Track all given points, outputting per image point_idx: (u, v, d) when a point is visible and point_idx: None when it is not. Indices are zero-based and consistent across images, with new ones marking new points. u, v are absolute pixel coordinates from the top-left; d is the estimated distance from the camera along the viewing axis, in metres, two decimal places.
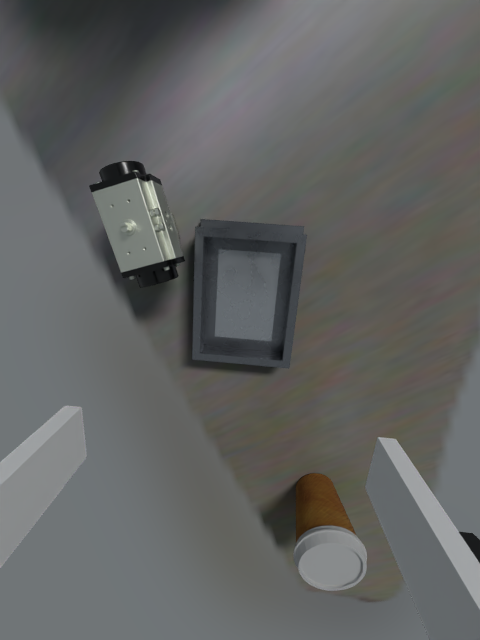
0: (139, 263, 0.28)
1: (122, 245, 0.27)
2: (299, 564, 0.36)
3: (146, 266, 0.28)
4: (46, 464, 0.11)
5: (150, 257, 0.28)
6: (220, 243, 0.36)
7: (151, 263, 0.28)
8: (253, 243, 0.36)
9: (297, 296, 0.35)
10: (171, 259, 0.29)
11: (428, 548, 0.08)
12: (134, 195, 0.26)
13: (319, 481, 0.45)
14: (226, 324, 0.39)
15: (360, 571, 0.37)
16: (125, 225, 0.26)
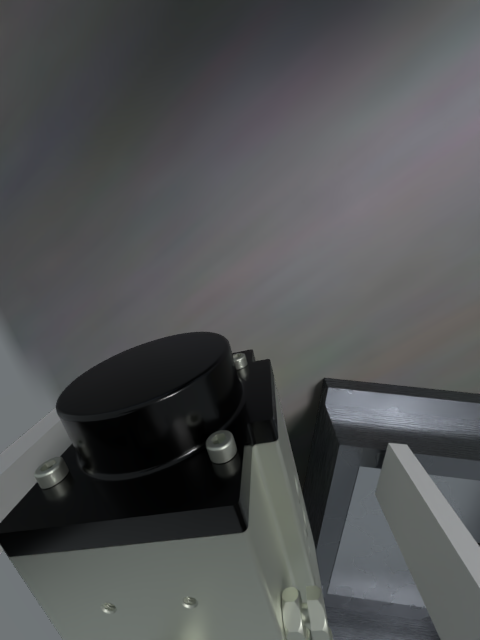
0: None
1: None
2: None
3: None
4: (32, 469, 0.10)
5: None
6: None
7: None
8: None
9: None
10: None
11: (446, 560, 0.08)
12: (222, 589, 0.05)
13: None
14: (355, 577, 0.18)
15: None
16: None
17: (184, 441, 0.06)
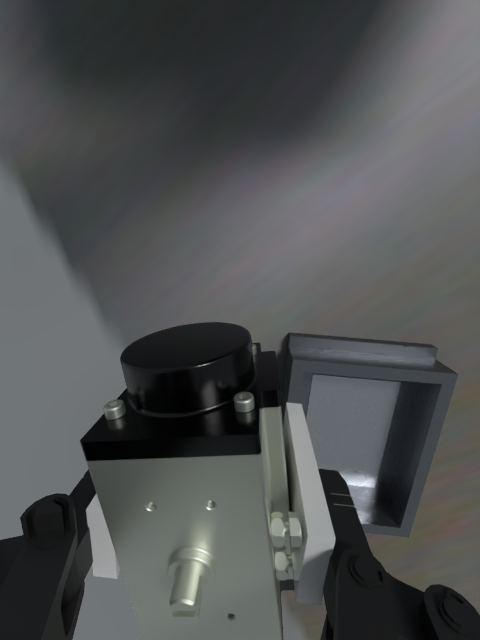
0: None
1: (163, 598, 0.09)
2: None
3: None
4: None
5: (243, 637, 0.09)
6: None
7: None
8: None
9: (432, 451, 0.24)
10: (282, 581, 0.11)
11: (294, 479, 0.10)
12: (235, 496, 0.07)
13: None
14: None
15: None
16: (192, 606, 0.07)
17: (217, 396, 0.08)
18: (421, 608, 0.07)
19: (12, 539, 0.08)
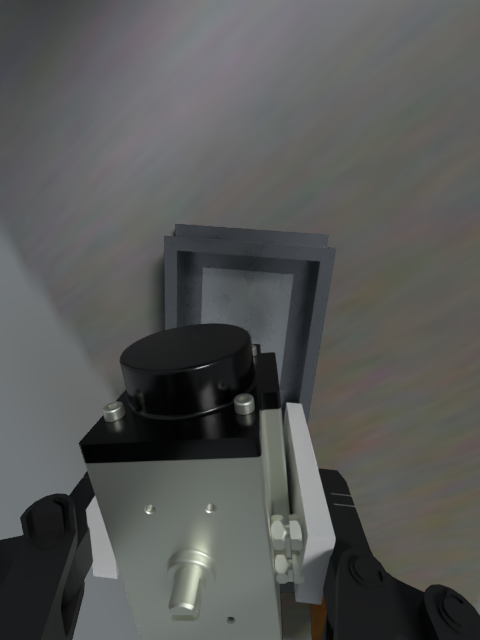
0: None
1: (163, 601, 0.09)
2: None
3: None
4: None
5: None
6: (205, 259, 0.25)
7: None
8: (253, 259, 0.25)
9: (319, 339, 0.23)
10: (282, 583, 0.11)
11: (294, 479, 0.10)
12: (235, 499, 0.07)
13: None
14: None
15: None
16: (191, 609, 0.07)
17: (217, 398, 0.08)
18: (421, 608, 0.07)
19: (12, 539, 0.08)
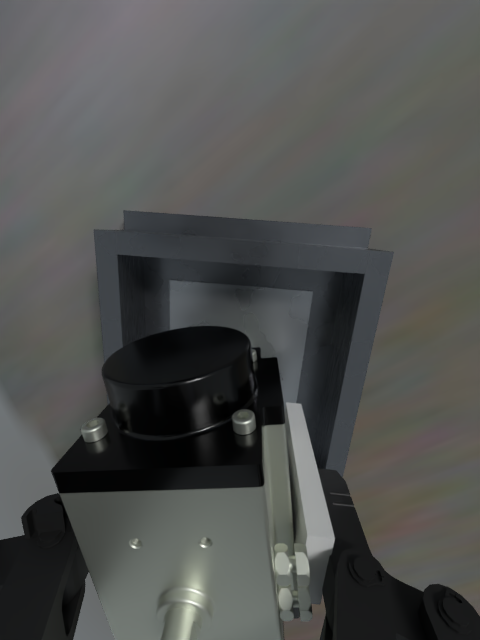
0: None
1: (152, 639, 0.08)
2: None
3: None
4: None
5: None
6: (173, 267, 0.16)
7: None
8: (249, 267, 0.15)
9: (356, 401, 0.14)
10: None
11: (293, 479, 0.10)
12: (234, 533, 0.06)
13: None
14: None
15: None
16: None
17: (213, 415, 0.07)
18: (420, 608, 0.07)
19: (13, 539, 0.08)
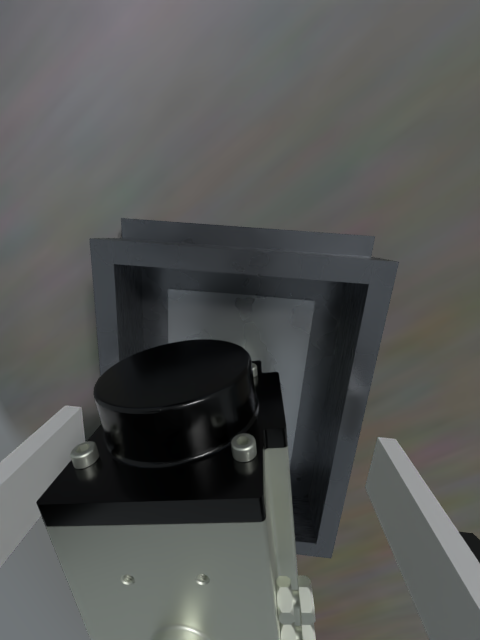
0: None
1: None
2: None
3: None
4: (46, 464, 0.11)
5: None
6: (172, 276, 0.15)
7: None
8: (249, 276, 0.15)
9: (360, 414, 0.14)
10: None
11: (428, 548, 0.08)
12: (233, 570, 0.06)
13: None
14: None
15: None
16: None
17: (211, 439, 0.07)
18: None
19: None
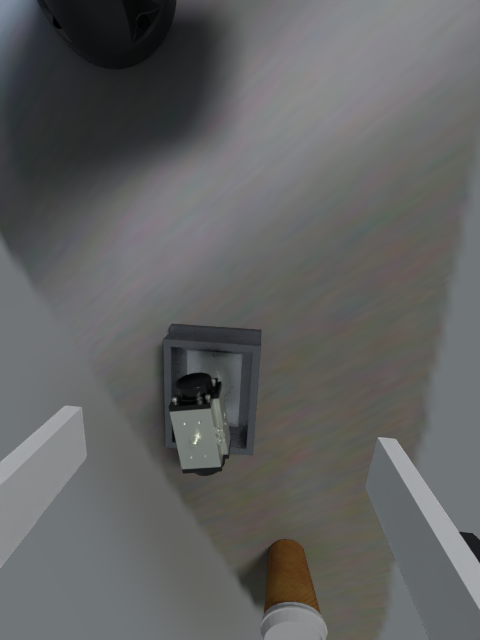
0: (199, 465, 0.33)
1: (187, 451, 0.32)
2: (264, 639, 0.40)
3: (204, 468, 0.33)
4: (46, 464, 0.11)
5: (209, 462, 0.33)
6: None
7: (209, 466, 0.33)
8: None
9: (256, 395, 0.39)
10: (224, 455, 0.34)
11: (428, 548, 0.08)
12: (205, 419, 0.31)
13: (289, 548, 0.48)
14: None
15: None
16: (195, 445, 0.31)
17: (201, 395, 0.32)
18: None
19: None
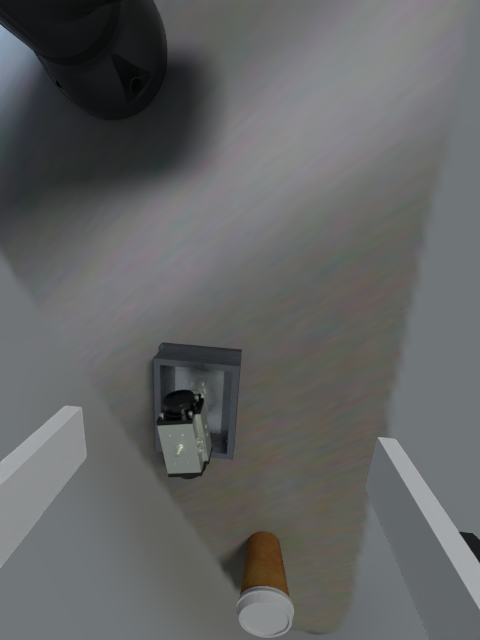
0: (182, 470, 0.38)
1: (172, 458, 0.38)
2: (239, 617, 0.46)
3: (187, 473, 0.38)
4: (46, 464, 0.10)
5: (191, 468, 0.38)
6: None
7: (191, 472, 0.38)
8: None
9: (235, 408, 0.44)
10: (204, 461, 0.40)
11: (428, 548, 0.08)
12: (187, 432, 0.36)
13: (265, 540, 0.54)
14: None
15: (288, 623, 0.46)
16: (179, 454, 0.36)
17: (184, 412, 0.37)
18: None
19: None
